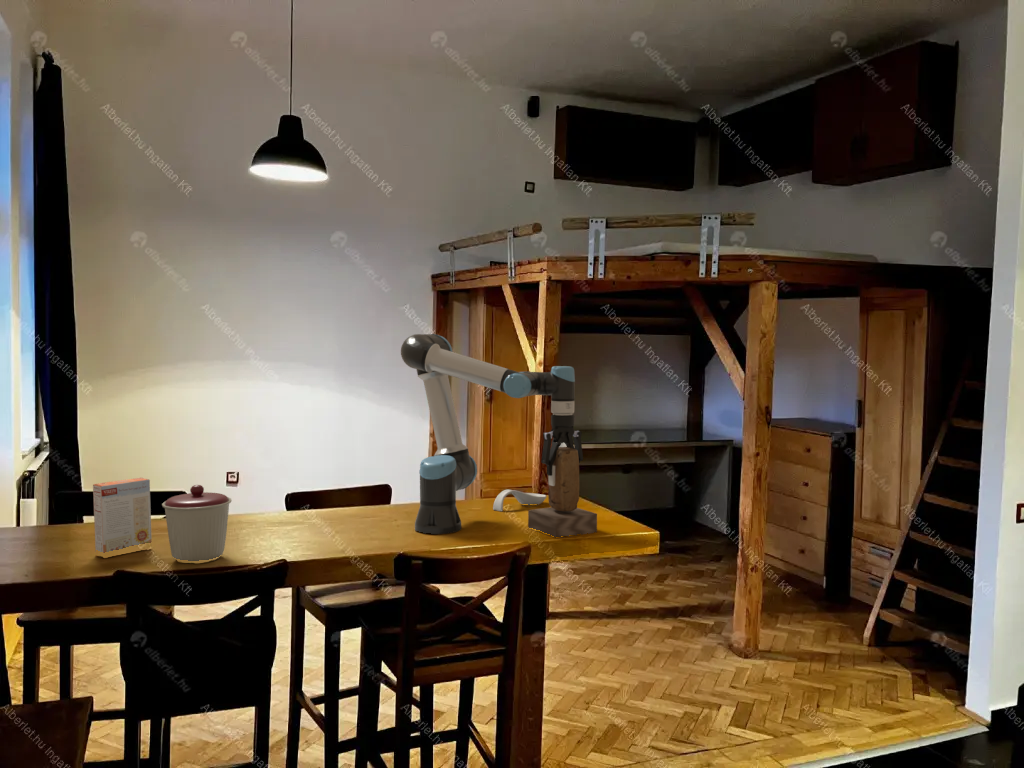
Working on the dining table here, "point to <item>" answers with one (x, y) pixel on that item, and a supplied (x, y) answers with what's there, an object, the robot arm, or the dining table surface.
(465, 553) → the dining table surface
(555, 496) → the block
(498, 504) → the spoon rest
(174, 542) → the canister
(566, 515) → the base block
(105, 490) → the cracker box
